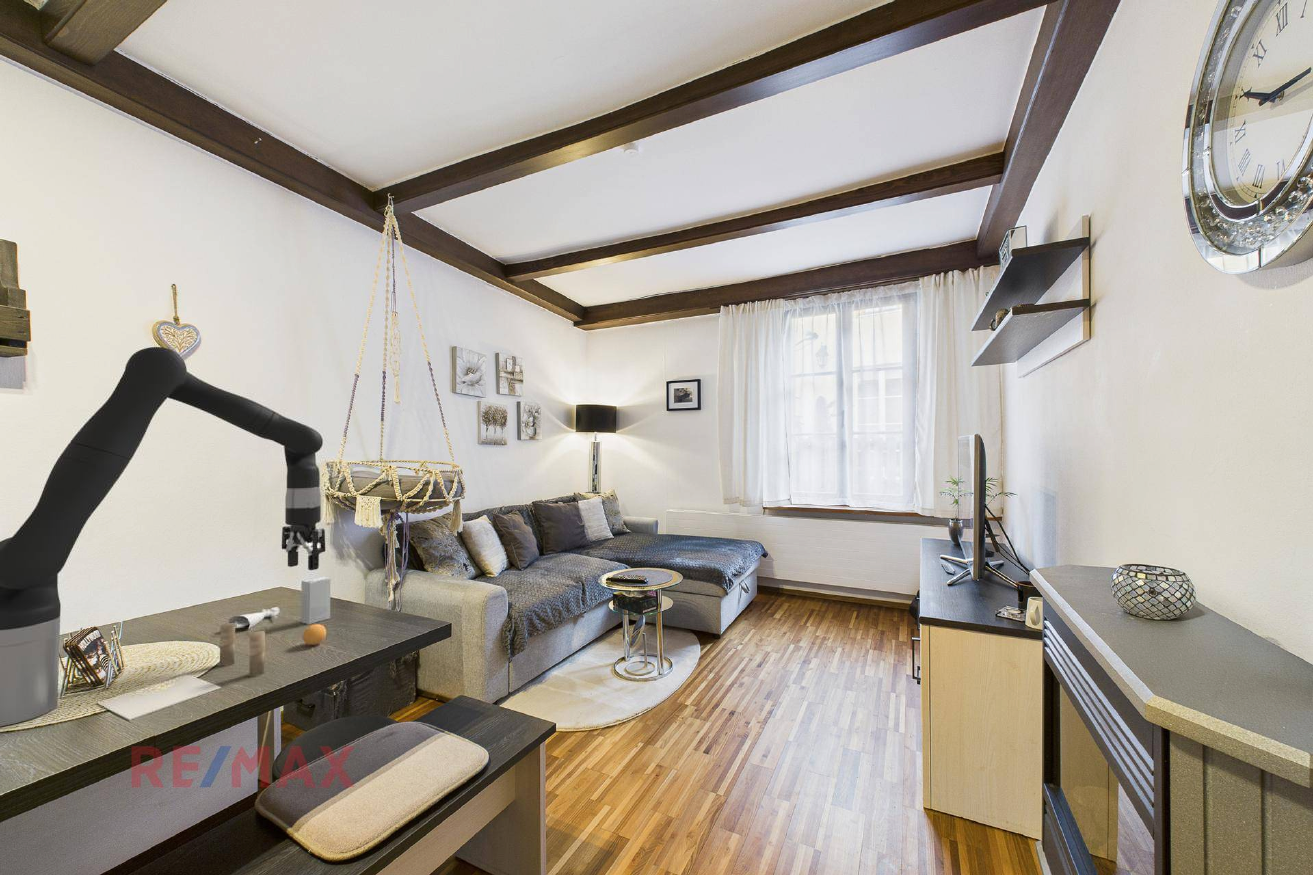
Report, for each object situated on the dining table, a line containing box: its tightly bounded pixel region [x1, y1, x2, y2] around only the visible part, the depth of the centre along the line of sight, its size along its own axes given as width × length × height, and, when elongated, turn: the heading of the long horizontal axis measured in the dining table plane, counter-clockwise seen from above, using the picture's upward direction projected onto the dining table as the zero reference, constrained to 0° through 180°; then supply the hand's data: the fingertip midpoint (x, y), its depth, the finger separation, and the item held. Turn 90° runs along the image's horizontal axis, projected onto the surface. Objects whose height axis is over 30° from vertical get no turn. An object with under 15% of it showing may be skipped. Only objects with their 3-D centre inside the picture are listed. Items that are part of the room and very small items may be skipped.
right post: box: [248, 630, 266, 678], centre depth 113 cm, size 3×3×9 cm
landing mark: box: [97, 674, 222, 721], centre depth 103 cm, size 14×14×1 cm
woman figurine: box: [225, 605, 280, 630], centre depth 146 cm, size 12×4×18 cm
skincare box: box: [300, 576, 331, 625], centre depth 148 cm, size 6×4×12 cm
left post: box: [219, 622, 236, 667], centre depth 118 cm, size 3×3×9 cm
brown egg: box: [302, 623, 327, 646], centre depth 130 cm, size 5×5×5 cm
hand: (303, 567), depth 131 cm, fingers open, 8 cm apart
